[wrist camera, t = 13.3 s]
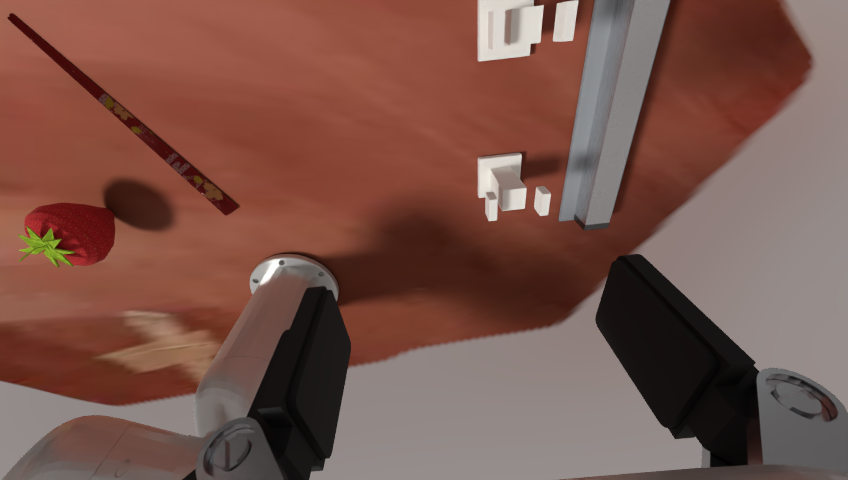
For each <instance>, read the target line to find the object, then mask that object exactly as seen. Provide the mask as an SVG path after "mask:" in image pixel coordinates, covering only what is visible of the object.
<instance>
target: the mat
mask: <svg viewBox="0 0 848 480" xmlns="http://www.w3.org/2000/svg"><path fill="white" fill-rule="evenodd" d="M670 1H671V0H670ZM670 1H669V5H670ZM615 4H616V0H595V2H594V8H593V14H592V20H591V26H590V32H589V38H588V44H587V50H586V56H585V62H584V68H583V74H582V80H581V86H580V92H579V99H578V105H577V111H576V117H575V123H574V129H573V135H572V141H571V147H570V153H569V159H568V165H567V171H566V177H565V183H564V189H563V195H562V201H561V207H560V213H559V219H558V220H559V221H568V220H574V214H575V209H576V204H577V198H578V193H579V188H580V183H581V178H582V173H583V168H584V163H585V158H586V152H587V147H588V142H589V137H590V132H591V127H592V122H593V117H594V112H595V107H596V101H597V96H598V91H599V86H600V81H601V76H602V71H603V66H604V61H605V55H606V50H607V45H608V40H609V35H610V30H611V25H612V20H613V15H614V10H615ZM669 5H668V8H669ZM667 12H668V9H667ZM667 12H666V16H667ZM666 16H665V19H666ZM664 23H665V20H664ZM664 23H663V27H664ZM663 27H662V30H663ZM661 34H662V31H661ZM661 34H660V37H661ZM659 41H660V38H659ZM658 45H659V42H658ZM658 45H657V48H658ZM656 52H657V49H656ZM655 56H656V53H655ZM655 56H654V59H655ZM653 63H654V60H653ZM652 67H653V64H652ZM652 67H651V70H652ZM650 74H651V71H650ZM649 78H650V75H649ZM649 78H648V81H649ZM647 85H648V82H647ZM646 89H647V86H646ZM646 89H645V92H646ZM644 96H645V93H644ZM643 100H644V97H643ZM643 100H642V103H643ZM641 107H642V104H641ZM640 110H641V108H640ZM639 114H640V112H639ZM638 118H639V115H638ZM637 121H638V119H637ZM636 125H637V123H636ZM635 129H636V126H635ZM634 132H635V130H634ZM633 136H634V134H633ZM632 140H633V137H632ZM631 143H632V141H631ZM630 147H631V145H630ZM629 151H630V148H629ZM628 154H629V152H628ZM627 158H628V156H627ZM626 162H627V159H626ZM625 165H626V163H625ZM624 169H625V167H624ZM623 173H624V170H623ZM622 176H623V174H622ZM621 180H622V178H621ZM620 184H621V181H620ZM619 187H620V185H619ZM618 191H619V189H618ZM617 194H618V192H617ZM616 198H617V196H616ZM615 202H616V200H615ZM614 205H615V203H614ZM613 209H614V207H613ZM612 213H613V211H612ZM611 216H612V214H611Z"/></svg>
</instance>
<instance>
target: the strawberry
mask: <svg viewBox="0 0 848 480" xmlns="http://www.w3.org/2000/svg"><path fill="white" fill-rule="evenodd" d="M114 219H115V217H114V214H113V212H112V211H110V210H109V209H106V208H100V207H94V206H90V205H84V204H73V203H57V204H51V205H45V206H40V207H37V208H36V209H34V210H33V211H32V212H31V213H29V214H28V215H27V216H26V218H25V222H24V223H25V232H26V234H27V236H28V237H25V236H21V235H18V236H19V237H20V238H22V239H23V240H24V241H25V242H26V243H27V244H28V245H29V246H30V248H26V249H22V250H19V251H23V252H28V254H26V255H25V256H24V257H23V258H21V259H20V260H19V262H20V261H21V260H23V259H24V258H25V257H26V256H28V255H29V254H30V253H32V254H38V253H40V252H44V253H43V254H44V255H45V256H46V257H47V258H48V259H50V260H51V261H52V262H53V263H54V264H55V265H56V266H57V267H60V266H59V264H58V262H57V260H58V261H61V262H63V263H66V264H68V265H71V266H74V265H81V266H88V265H92V264H94V263H97V262H99V261H101V260H103V259H104V258H105V257H106V256H107V254H108V253H109V251H110V250H111V248H112V247H113V245H114V238H115V223H114Z"/></svg>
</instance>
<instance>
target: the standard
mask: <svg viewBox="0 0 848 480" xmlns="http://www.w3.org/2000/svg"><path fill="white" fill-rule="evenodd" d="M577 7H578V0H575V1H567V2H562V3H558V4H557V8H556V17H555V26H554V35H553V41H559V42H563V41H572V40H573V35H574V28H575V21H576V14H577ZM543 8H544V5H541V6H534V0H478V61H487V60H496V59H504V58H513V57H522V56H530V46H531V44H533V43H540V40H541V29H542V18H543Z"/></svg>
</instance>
